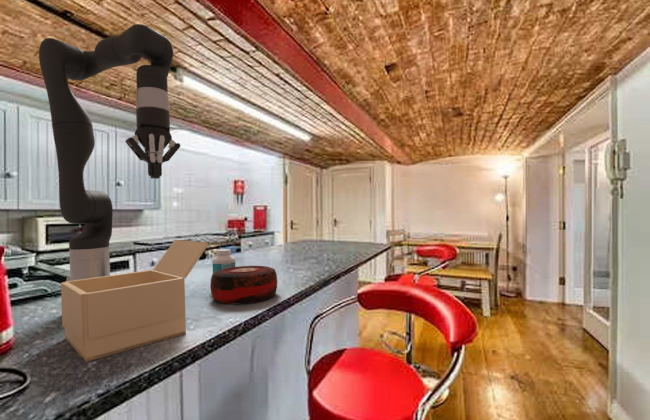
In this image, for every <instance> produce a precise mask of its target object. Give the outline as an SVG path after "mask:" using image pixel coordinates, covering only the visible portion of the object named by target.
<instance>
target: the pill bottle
mask: <svg viewBox="0 0 650 420" xmlns="http://www.w3.org/2000/svg"><path fill="white" fill-rule="evenodd" d="M231 254H232V249H229V248H228V249H227V248H226V249H225V248H223V249H217V250H216V256H215V257H214V258H213V259H212V274H213V273H214V272H216V271H218V270H221V269H225V268H231V267H236V258H235V257H234V256H233V255H231Z"/></svg>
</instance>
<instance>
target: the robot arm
mask: <svg viewBox="0 0 650 420" xmlns="http://www.w3.org/2000/svg"><path fill="white" fill-rule="evenodd" d="M142 57H144V58H146V59H147V60H150V64H142V65H140V66H138V67H137V69H136V96H135V112H136V113H135V114H136V129H135V132H134V135H133V136H131V137H129V138H128V137H127V138H126V139H125V143H126V145H127V146H128V147H129V148H130V150H131V151H132V152H133V153H134V154H135V155H136V157H137V159H138V160H140V161H142V162H146V164H147V174H148V177H150V179H151V180H152V179H153V180H154V179H155V180H158V179H160V177H162V174H163V169H162V168H163V167H162V165H163V163H166V162H169V161H170V160H171V159H172V157H173V156H174V155H175V153H177V151H178V150H179V149H180V148H181V143H180V142H176V141H175V140H173V137H172V134H171V130H170V129H171V120H170V119H171V118H170V115H171V114H170V111H171V108H170V99H169V93H168V92H169V90H168V78H169V74H170V70H171V67H172V66H171V65H172V62H173V58H174V47H173V45H172V42H171V40H170V39H169V38H168V37H167V36H165V35H163V34H161V33H160V32H158V31H156V30H155V29H153V28H152V27H150V26H148V25H145V24H140V23H139V24H133V25H130V26H129V27H128V28H127V29H125V31H122V33H120V34H119V35H114V36H110V37H105V38H103V39H101V40H100V41H98V43H97V44H96V45H95V47H94V50H91V51H89V50H82V49H80V48H78V47H77V46H75V45H71V44H69V43H66V42H64V41H62V40H58V39H55V38H52V37H48V38H44V39H43V40H42V41H41V43H40V45H39V48H38V62H39V65H40V70H41V73H42V78H43V82H44V86H45V89H46V90H45V91H46V93H47V98H48V99H47V100H48V104H49V111H50V117H51V127H52V134H53V141H54V144H55V145H54V146H55V152H56V161H57V170H58V199H59V201H58V202H59V208H60V212H61V216H62V217H63V219H64V220H65V221H66V222H67V223H68V224H71V225H72V224H75V225H81V224H84V229H83V230H81V232H80V233H79V234H77V235H75V236H73V237H71V238H70V239H69V242H68V245H69V246H68V249H69V252H68V253H69V254H68V255H69V256H68V257H69V276H67V277H66V280H65V281H73V280H81V279H88V278H96V277H103V276H110V275H111V268H110V267H111V265H110V263H111V262H110V261H111V258H110V240H111V237H112V235H113V215H114V214H113V211H114V210H113V203H112V200H111V198H110V195H108V193H106V192H104V191H100V190H90V189H89V190H86V188H85V182H84V181H85V180H84V171H85V167H86V164H87V162H88V161H89V159H90V157H91V155H92V153H93V152H94V149H95V143H96V142H95V141H96V139H95V133H94V127H93V123H92V120H91V117H90V115H89V114H88V113H87V111H86V110H85V109H84V107H83V105H82V103H80V102H79V100H78V99H77V97H76V96H75V95H74V93H73V91H72V89H71V87H70V84H69V81H68V80H72V81H76V82H79V81H84V80H87V79H89V78H91V77H93V76H96V75H98V74H100V73H102V72H104V71H108V69H109V70H110V69H114V68H117V67H123V66H128V65H134V64H137V63H138V62H140V61H141V59H142ZM139 144H140V145H141V146H142V147H143V148H142V147H141V146H140V145H139ZM167 146H168V150H167V151H166V152H165V151H164V150H165V149H166V147H167ZM143 149H144V150H143ZM164 153H165V154H164Z"/></svg>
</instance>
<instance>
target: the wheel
mask: <svg viewBox="0 0 650 420" xmlns="http://www.w3.org/2000/svg"><path fill="white" fill-rule="evenodd" d="M277 289H278V274H277V271H276V269H275V268H273V267H270V266H267V265H266V266H265V265H243V266H242V265H240V266H235V267H231V268H225V269H221V270H218V271H216V272H214V273H213V272H212V275H211V277H210V293H211V297H212V298H213V301H215V302H216V303H217V302H218V303H220V304H226V305H246V304H247V305H248V304H254V303H259V302H263V301H266V300H269V299H271V298H272V297H275V296H276V293H277Z"/></svg>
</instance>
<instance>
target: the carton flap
mask: <svg viewBox="0 0 650 420" xmlns="http://www.w3.org/2000/svg"><path fill="white" fill-rule="evenodd" d="M208 246H209V243H208V242H207V241H198V240H197V241H195V240H183V239H175V240H174V241H173V242H172V243H171V245H170V246H169V247H168V249H167V250H166V251H165V253H164V254H163V255H162V257H161V258H160V260H159V261H158V263H156V265H155V267H154V268H153V270H155V271H159V272H163V273H167V274H171V275H175V276H179V277H183V278H184V280H185V279H187V278H188V276H189V275H190V273H191V272H192V269H193V268H194V267H195V265H197V262H198V261H199V259H200V258H201V256H202V255H203V253H204V252H205V251H206V249H207V247H208Z"/></svg>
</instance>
